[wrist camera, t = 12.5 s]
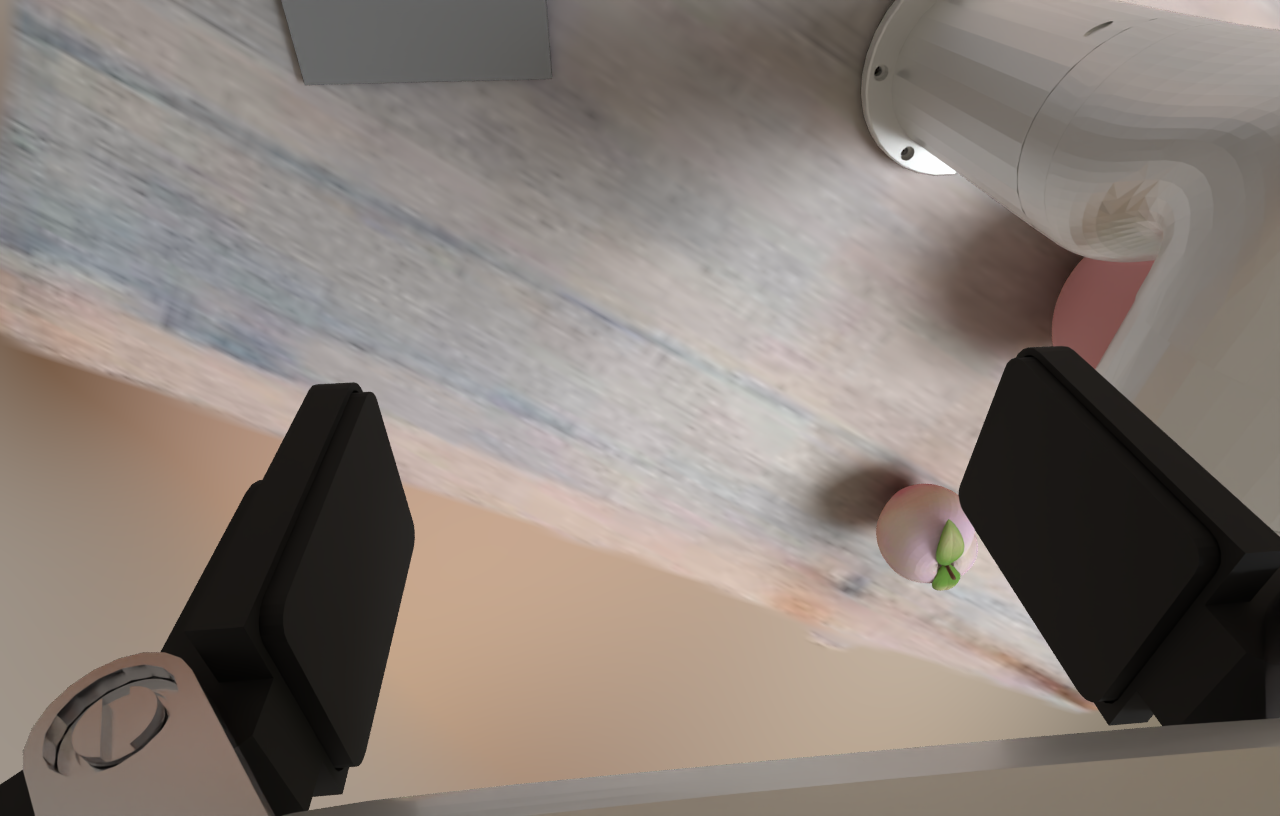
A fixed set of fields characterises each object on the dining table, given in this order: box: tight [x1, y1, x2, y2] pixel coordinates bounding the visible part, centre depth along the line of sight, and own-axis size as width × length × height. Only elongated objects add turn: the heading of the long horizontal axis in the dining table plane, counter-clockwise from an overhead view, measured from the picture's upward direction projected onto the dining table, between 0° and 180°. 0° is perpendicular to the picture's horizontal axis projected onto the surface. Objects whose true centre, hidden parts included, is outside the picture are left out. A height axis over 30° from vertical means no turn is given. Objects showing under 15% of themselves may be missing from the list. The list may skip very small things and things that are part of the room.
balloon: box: [1052, 257, 1155, 369], centre depth 47 cm, size 15×20×15 cm
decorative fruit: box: [876, 484, 978, 591], centre depth 61 cm, size 9×8×10 cm
